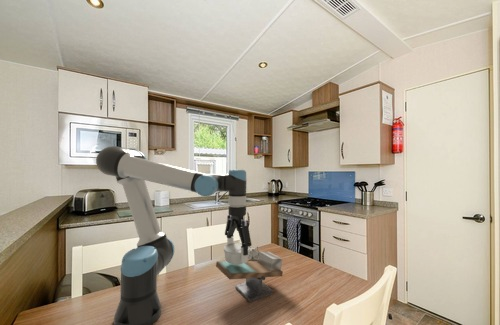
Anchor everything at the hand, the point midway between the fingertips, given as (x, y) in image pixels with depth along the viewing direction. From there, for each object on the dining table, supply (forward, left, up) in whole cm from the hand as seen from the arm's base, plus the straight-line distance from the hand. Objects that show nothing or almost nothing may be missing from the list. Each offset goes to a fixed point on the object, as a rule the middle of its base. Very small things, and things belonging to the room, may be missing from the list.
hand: (236, 257), depth 91 cm
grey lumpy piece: (+26, +26, -17) cm, 40 cm away
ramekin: (0, 0, -1) cm, 1 cm away
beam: (+6, 0, -8) cm, 10 cm away
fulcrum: (+9, 0, -17) cm, 19 cm away
